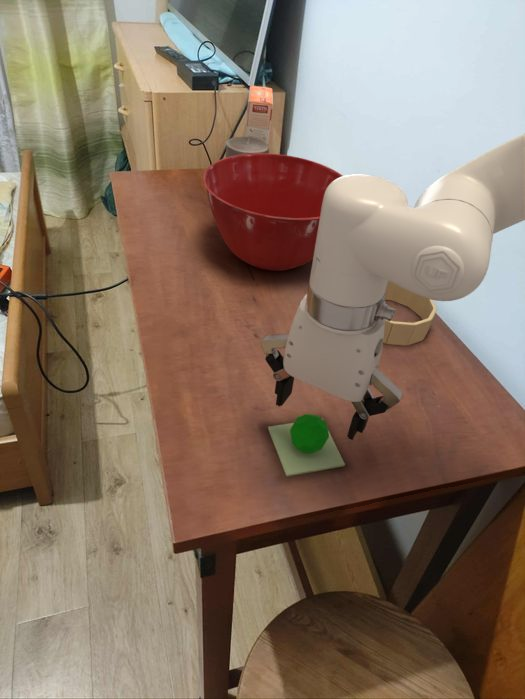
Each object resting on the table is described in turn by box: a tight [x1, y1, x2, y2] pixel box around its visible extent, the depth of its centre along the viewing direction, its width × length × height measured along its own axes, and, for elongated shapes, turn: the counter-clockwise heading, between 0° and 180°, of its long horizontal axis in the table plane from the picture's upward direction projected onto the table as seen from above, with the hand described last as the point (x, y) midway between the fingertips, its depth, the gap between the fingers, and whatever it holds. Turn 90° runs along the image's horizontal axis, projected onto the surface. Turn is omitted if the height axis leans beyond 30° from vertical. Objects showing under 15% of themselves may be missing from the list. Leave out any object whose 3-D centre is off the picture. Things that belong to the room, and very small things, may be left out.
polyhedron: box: [290, 413, 330, 453], centre depth 66 cm, size 5×5×5 cm
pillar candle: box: [225, 136, 270, 158], centre depth 117 cm, size 10×10×15 cm
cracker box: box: [244, 85, 274, 145], centre depth 126 cm, size 14×6×21 cm, turn 179°
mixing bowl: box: [202, 152, 344, 272], centre depth 100 cm, size 28×28×16 cm
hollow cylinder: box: [383, 281, 438, 347], centre depth 90 cm, size 14×14×4 cm
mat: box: [267, 417, 346, 478], centre depth 67 cm, size 8×8×1 cm
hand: (317, 415), depth 63 cm, fingers open, 9 cm apart
